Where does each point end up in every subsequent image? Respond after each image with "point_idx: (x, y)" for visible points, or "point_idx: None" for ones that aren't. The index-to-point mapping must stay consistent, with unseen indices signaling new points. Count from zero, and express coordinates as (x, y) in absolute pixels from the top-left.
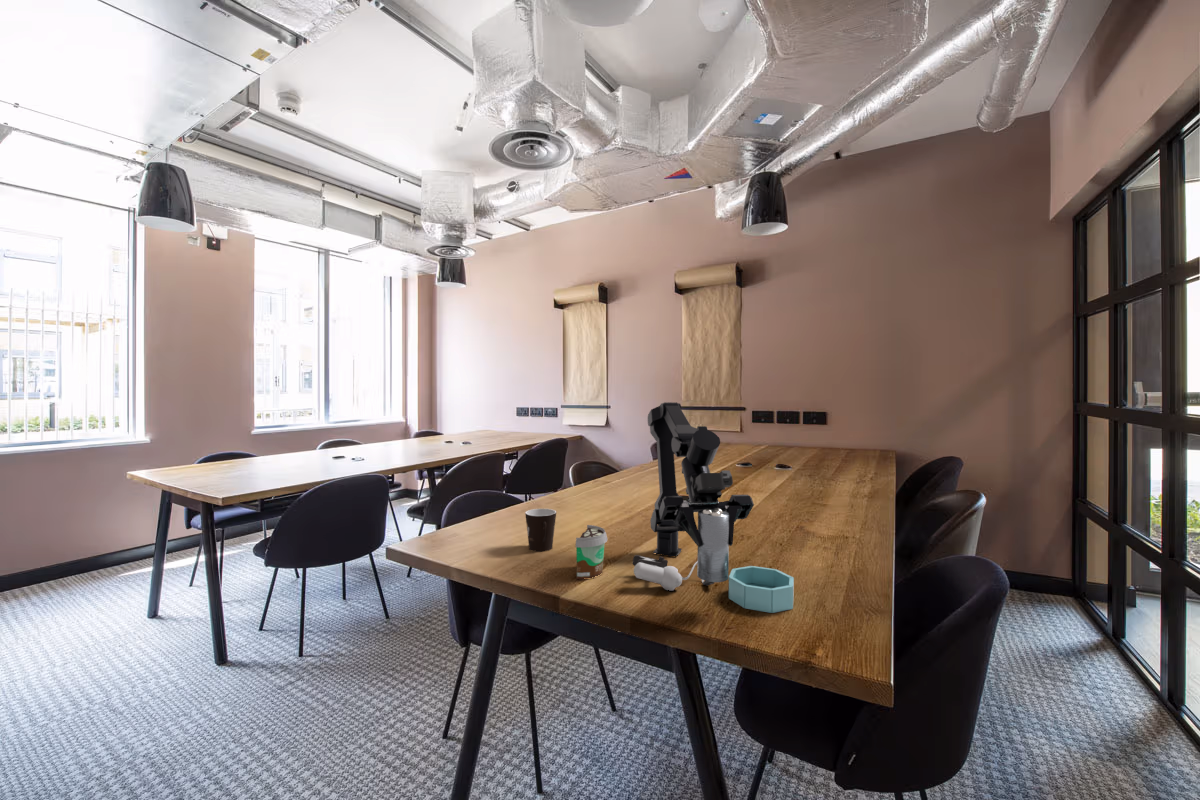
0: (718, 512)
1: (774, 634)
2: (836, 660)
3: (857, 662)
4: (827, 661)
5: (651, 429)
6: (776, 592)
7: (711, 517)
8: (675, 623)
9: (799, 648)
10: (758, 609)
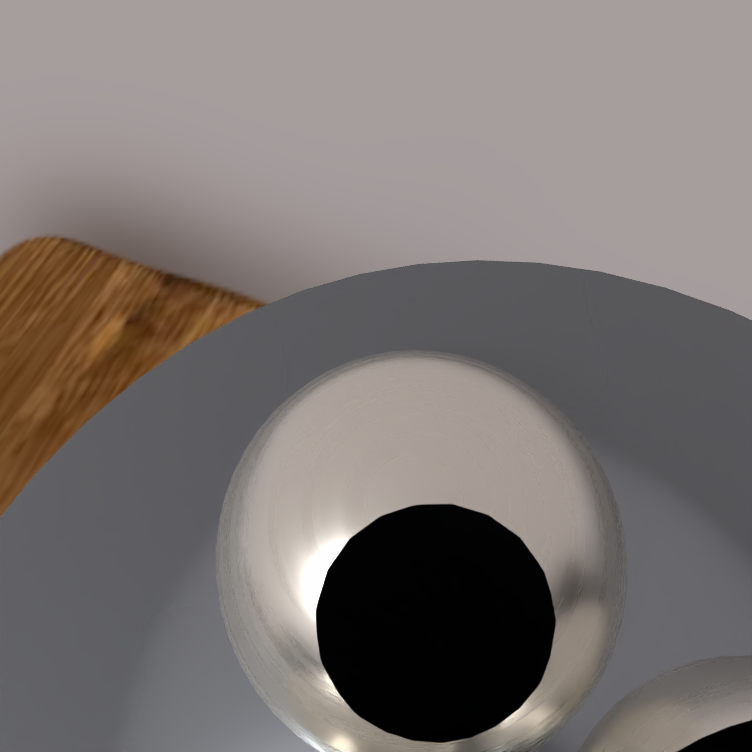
0: (324, 412)
1: None
2: (83, 298)
3: (28, 296)
4: (113, 289)
5: None
6: None
7: (569, 283)
8: None
9: (160, 348)
10: None
